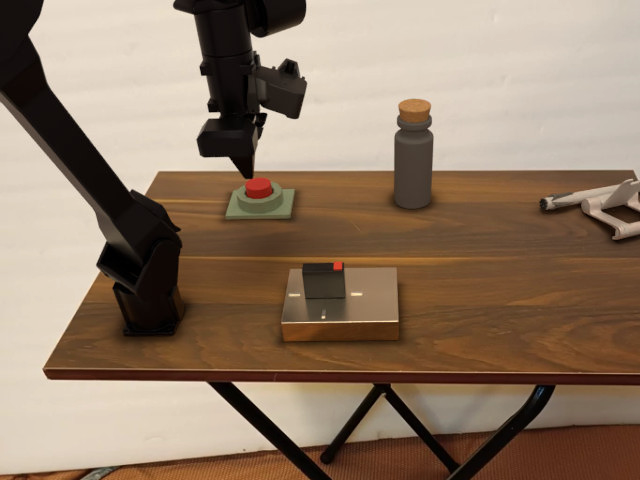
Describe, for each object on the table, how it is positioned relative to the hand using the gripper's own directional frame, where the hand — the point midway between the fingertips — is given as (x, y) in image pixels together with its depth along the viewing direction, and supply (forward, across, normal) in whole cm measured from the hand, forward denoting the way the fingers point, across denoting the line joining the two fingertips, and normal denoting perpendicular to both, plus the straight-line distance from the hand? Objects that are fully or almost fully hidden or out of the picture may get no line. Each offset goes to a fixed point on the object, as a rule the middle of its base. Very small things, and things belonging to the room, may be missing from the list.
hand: (249, 177), depth 82 cm
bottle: (+12, +15, -22) cm, 29 cm away
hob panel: (+12, -13, -12) cm, 21 cm away
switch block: (+12, +14, +2) cm, 19 cm away
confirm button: (+10, +14, +2) cm, 17 cm away
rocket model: (+11, +11, -41) cm, 44 cm away
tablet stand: (+8, +5, -54) cm, 55 cm away
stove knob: (+9, -13, -10) cm, 19 cm away
